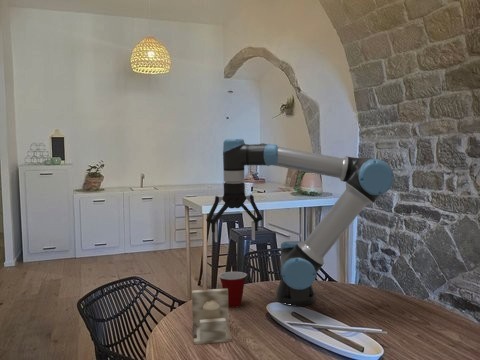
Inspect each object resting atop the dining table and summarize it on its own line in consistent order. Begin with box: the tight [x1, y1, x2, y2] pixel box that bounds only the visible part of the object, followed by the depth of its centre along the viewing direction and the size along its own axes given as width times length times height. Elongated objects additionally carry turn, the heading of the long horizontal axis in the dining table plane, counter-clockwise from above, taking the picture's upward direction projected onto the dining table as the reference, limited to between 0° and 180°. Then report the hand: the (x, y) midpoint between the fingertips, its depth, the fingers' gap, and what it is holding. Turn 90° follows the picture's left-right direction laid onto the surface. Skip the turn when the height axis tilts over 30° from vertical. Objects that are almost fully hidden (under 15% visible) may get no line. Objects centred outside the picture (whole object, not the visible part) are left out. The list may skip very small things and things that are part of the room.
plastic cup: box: [218, 271, 248, 308], centre depth 158 cm, size 11×11×12 cm
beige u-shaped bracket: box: [191, 288, 233, 345], centre depth 134 cm, size 12×12×13 cm
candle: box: [203, 300, 220, 320], centre depth 134 cm, size 6×6×10 cm
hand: (234, 240), depth 149 cm, fingers open, 13 cm apart
